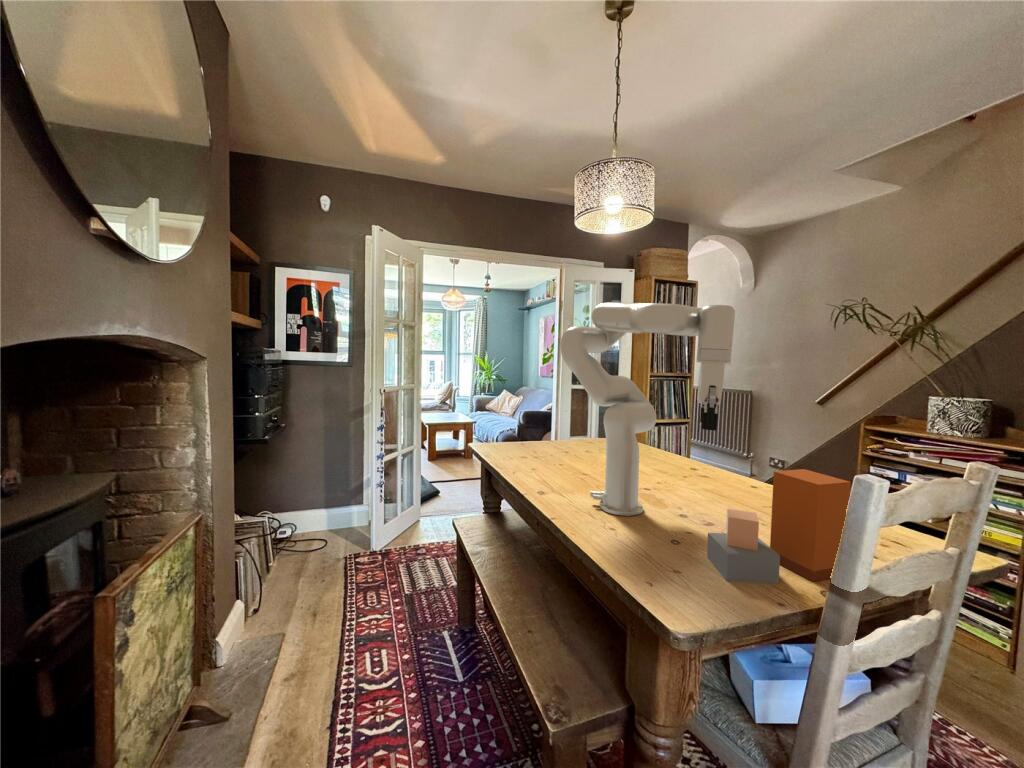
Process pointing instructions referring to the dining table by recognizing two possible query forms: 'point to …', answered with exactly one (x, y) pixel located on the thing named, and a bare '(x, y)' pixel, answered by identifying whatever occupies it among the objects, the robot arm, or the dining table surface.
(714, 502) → the dining table surface
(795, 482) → the tall orange brick
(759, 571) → the charcoal block
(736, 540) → the terracotta block
